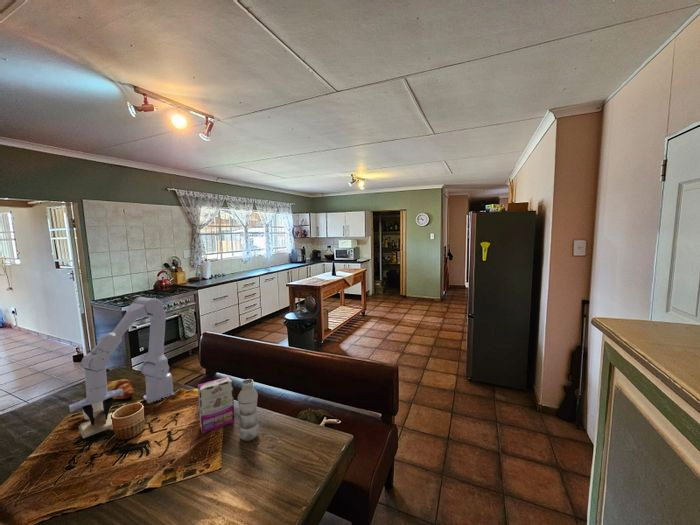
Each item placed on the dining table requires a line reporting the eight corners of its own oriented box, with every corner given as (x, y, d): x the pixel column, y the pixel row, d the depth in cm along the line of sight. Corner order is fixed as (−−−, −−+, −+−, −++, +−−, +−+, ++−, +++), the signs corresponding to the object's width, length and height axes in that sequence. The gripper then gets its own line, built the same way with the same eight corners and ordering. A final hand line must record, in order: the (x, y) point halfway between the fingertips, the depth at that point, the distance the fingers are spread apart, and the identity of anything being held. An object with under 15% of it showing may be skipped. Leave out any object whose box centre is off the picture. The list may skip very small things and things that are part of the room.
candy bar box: (231, 416, 110) (230, 375, 109) (234, 422, 106) (233, 380, 105) (199, 427, 104) (197, 383, 102) (201, 434, 100) (199, 389, 98)
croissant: (96, 400, 127) (84, 389, 123) (117, 380, 135) (107, 369, 131) (126, 409, 120) (115, 397, 116) (147, 388, 128) (137, 377, 124)
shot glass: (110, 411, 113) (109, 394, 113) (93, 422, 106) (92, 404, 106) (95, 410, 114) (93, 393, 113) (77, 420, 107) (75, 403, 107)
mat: (113, 414, 111) (113, 413, 111) (119, 424, 105) (119, 423, 105) (78, 427, 103) (78, 426, 103) (83, 439, 97) (83, 438, 97)
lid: (112, 413, 110) (111, 403, 110) (117, 423, 105) (117, 412, 104) (80, 425, 104) (79, 414, 103) (84, 436, 98) (83, 425, 97)
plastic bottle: (253, 445, 95) (251, 387, 93) (234, 442, 96) (233, 385, 94) (262, 432, 101) (261, 378, 99) (245, 429, 102) (244, 376, 101)
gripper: (119, 374, 111) (121, 408, 112) (67, 389, 100) (69, 426, 101) (123, 380, 107) (125, 415, 108) (69, 396, 95) (72, 435, 97)
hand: (99, 421), depth 104 cm, fingers closed on lid, 3 cm apart
